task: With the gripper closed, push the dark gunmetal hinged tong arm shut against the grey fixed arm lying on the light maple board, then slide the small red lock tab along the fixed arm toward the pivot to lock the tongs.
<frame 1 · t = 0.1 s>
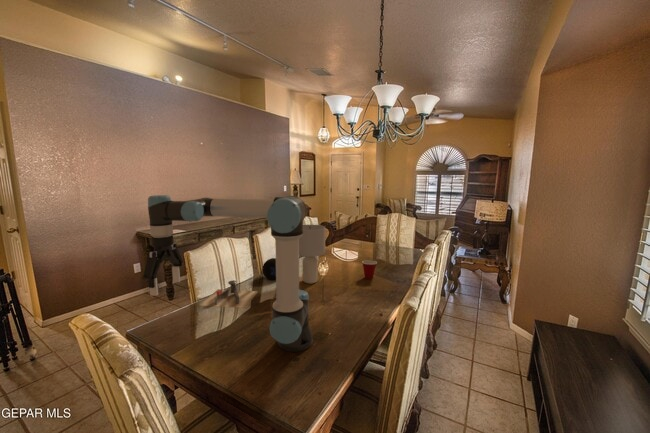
hand: (166, 288, 111), 28 cm above the table, fingers open, 13 cm apart
lamp: (310, 281, 194), on the table
board: (230, 299, 165), on the table
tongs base: (232, 292, 173), resting on board
tong arm: (234, 291, 165), point 5 cm above the table, hinge at 35.0°
decorative sphere: (273, 279, 198), on the table
plastic cup: (368, 277, 202), on the table
lock tab: (219, 292, 159), point 7 cm above the table, slide at 0.0 cm
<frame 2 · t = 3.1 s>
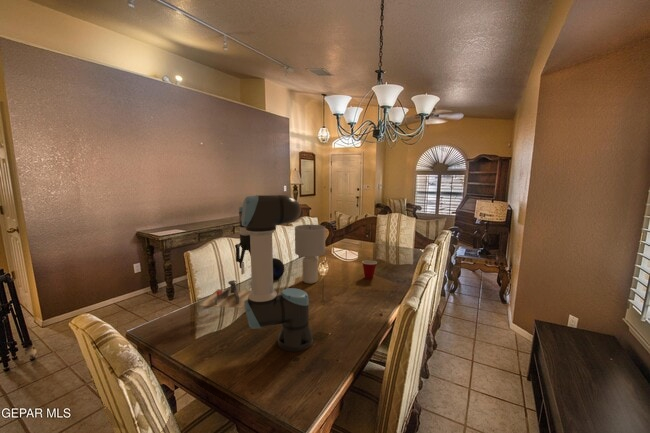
hand: (248, 273, 160), 17 cm above the table, fingers open, 5 cm apart
nothing on the table moved.
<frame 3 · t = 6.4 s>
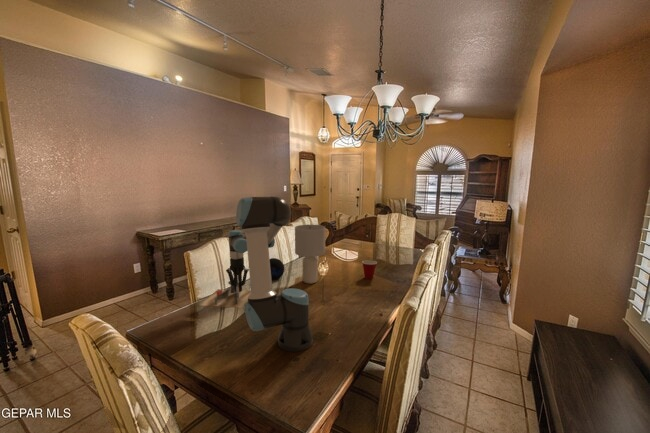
hand: (238, 296, 163), 3 cm above the table, fingers closed
tong arm: (233, 291, 165), point 5 cm above the table, hinge at 32.0°, touching gripper
everything else where it was.
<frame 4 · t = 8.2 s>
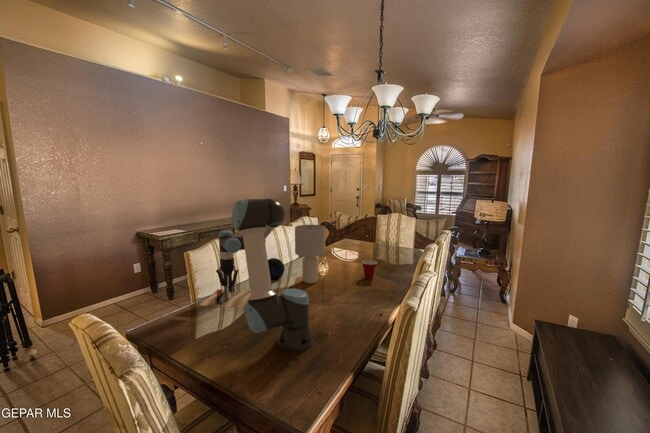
hand: (228, 297, 163), 2 cm above the table, fingers closed
tong arm: (226, 291, 165), point 5 cm above the table, hinge at 3.4°, touching gripper
everything else where it was.
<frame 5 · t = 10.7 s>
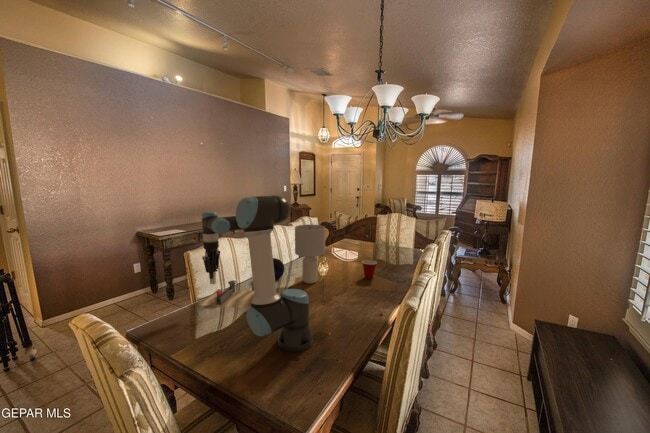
hand: (213, 283, 151), 15 cm above the table, fingers closed
tong arm: (226, 291, 165), point 5 cm above the table, hinge at 3.4°
everything else where it was.
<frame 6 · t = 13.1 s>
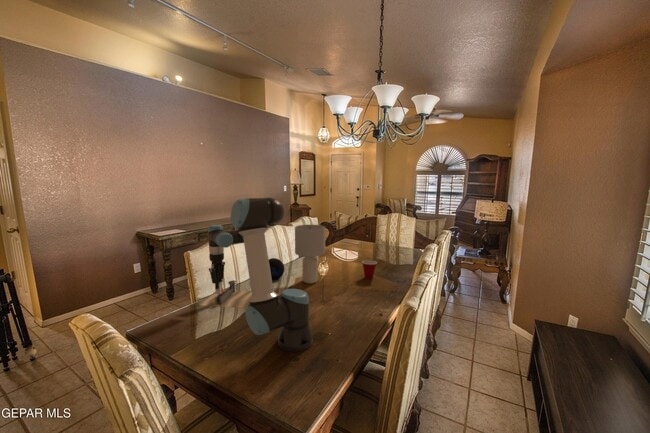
hand: (218, 293, 158), 6 cm above the table, fingers closed
lock tab: (220, 291, 160), point 7 cm above the table, slide at 1.4 cm, touching gripper
everything else where it was.
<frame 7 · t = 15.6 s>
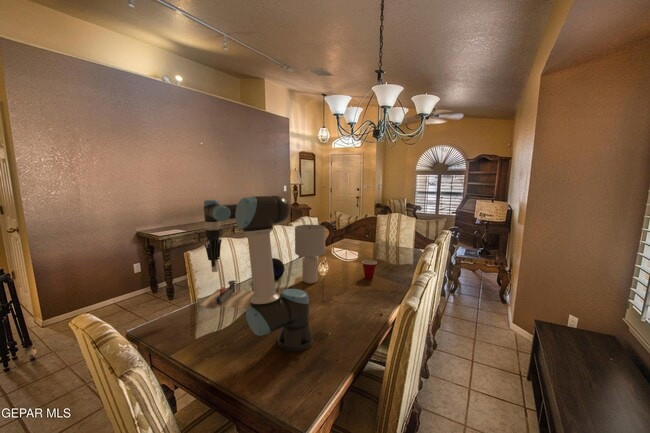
hand: (214, 271, 153), 20 cm above the table, fingers closed
lock tab: (222, 290, 162), point 7 cm above the table, slide at 3.2 cm
everything else where it was.
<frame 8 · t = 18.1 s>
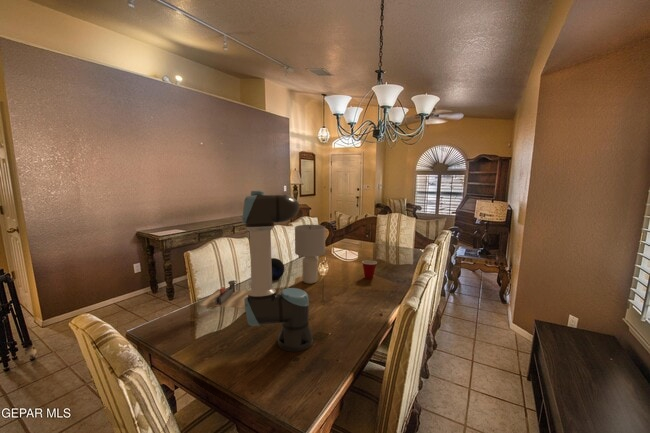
hand: (258, 255, 171), 24 cm above the table, fingers closed
nothing on the table moved.
at the end: tong arm at +3° (first picture: +35°); lock tab slide at 3.2 cm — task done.
